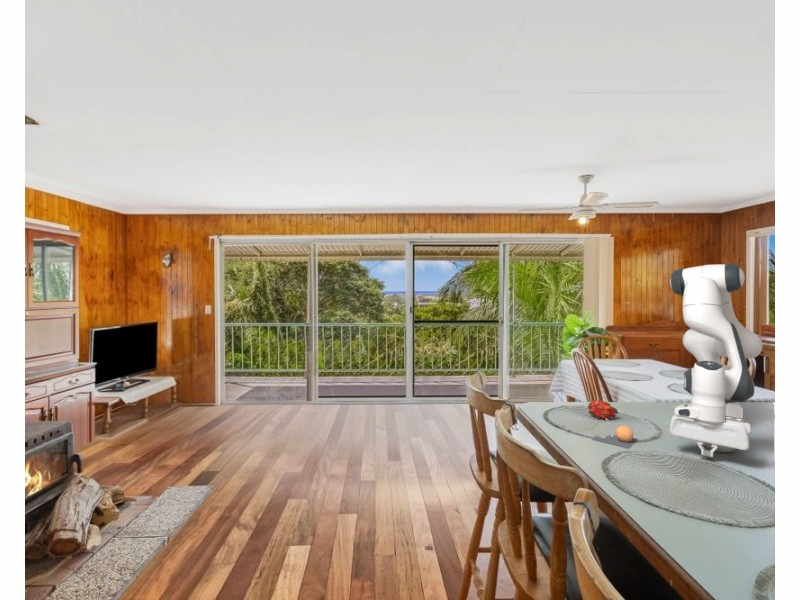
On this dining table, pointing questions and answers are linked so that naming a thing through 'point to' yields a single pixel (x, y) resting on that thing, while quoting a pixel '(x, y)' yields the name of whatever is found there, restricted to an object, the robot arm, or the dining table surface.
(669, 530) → the dining table surface
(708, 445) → the teacup
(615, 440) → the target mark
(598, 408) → the dragon fruit
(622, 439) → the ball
